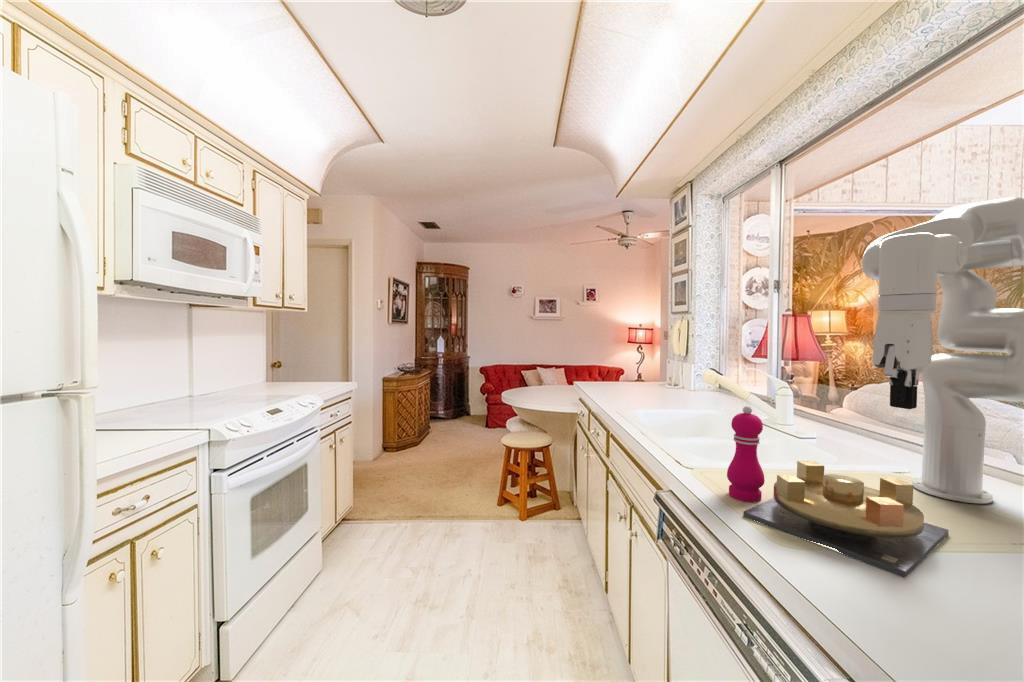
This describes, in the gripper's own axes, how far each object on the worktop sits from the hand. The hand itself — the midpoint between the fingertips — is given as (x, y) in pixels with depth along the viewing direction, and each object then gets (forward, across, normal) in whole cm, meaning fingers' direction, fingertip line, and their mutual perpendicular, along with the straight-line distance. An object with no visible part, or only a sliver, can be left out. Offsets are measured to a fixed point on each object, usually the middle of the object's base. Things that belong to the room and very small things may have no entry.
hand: (902, 407), depth 76 cm
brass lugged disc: (+20, +7, -6) cm, 22 cm away
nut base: (+23, +7, -6) cm, 25 cm away
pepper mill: (+23, +12, -22) cm, 34 cm away
